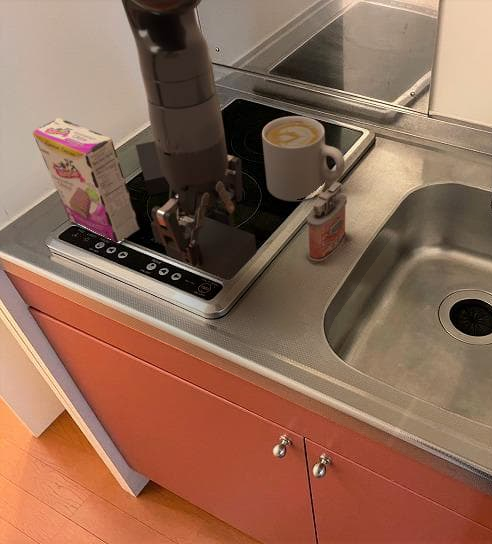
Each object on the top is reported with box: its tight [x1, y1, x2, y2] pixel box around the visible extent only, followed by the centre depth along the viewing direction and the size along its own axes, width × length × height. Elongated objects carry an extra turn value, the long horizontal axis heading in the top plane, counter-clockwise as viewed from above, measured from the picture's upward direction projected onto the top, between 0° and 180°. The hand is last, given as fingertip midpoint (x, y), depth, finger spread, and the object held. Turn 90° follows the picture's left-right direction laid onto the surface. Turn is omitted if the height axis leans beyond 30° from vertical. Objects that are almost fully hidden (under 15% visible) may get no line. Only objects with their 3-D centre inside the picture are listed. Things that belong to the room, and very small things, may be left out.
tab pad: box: [150, 214, 258, 282], centre depth 73 cm, size 6×13×3 cm, turn 60°
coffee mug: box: [261, 115, 346, 202], centre depth 93 cm, size 13×10×10 cm
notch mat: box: [135, 140, 170, 196], centre depth 100 cm, size 12×12×3 cm
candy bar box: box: [32, 117, 141, 246], centre depth 84 cm, size 11×5×16 cm, turn 58°
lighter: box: [306, 181, 348, 266], centre depth 82 cm, size 8×3×10 cm, turn 147°
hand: (210, 248), depth 73 cm, fingers closed on tab pad, 6 cm apart
